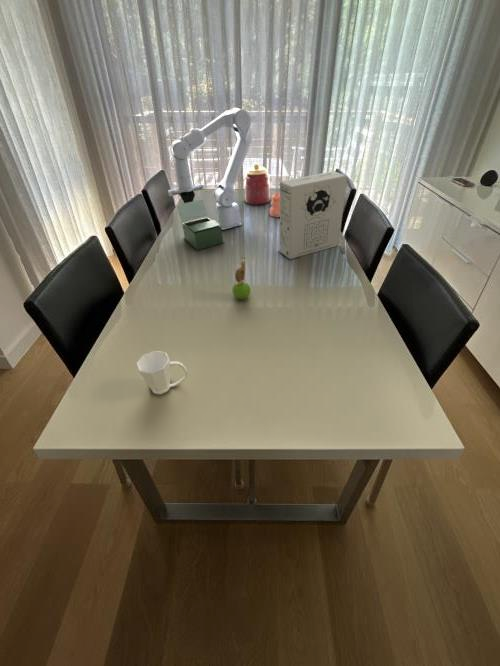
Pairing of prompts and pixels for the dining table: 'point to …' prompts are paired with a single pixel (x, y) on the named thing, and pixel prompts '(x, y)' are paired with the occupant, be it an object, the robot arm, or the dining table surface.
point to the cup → (158, 371)
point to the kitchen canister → (257, 185)
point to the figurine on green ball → (241, 283)
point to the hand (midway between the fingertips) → (189, 210)
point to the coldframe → (203, 233)
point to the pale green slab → (192, 210)
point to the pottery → (275, 205)
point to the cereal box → (311, 213)
